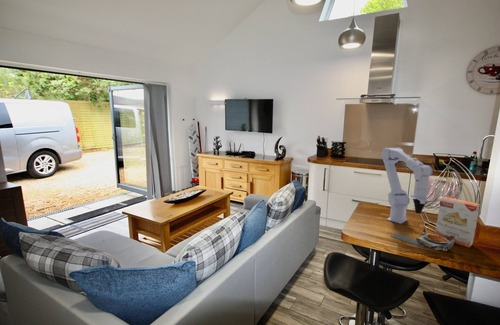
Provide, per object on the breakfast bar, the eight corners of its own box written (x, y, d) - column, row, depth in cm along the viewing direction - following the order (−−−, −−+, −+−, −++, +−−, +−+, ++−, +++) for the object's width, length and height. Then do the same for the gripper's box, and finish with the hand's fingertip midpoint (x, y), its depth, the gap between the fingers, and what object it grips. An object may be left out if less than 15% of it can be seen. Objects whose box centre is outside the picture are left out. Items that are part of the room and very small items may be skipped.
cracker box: (434, 237, 129) (440, 198, 125) (438, 234, 132) (444, 195, 129) (469, 248, 118) (476, 206, 114) (472, 244, 121) (480, 203, 117)
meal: (424, 226, 131) (456, 235, 121) (422, 234, 132) (454, 244, 122) (416, 235, 121) (450, 246, 111) (414, 243, 121) (448, 255, 112)
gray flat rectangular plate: (394, 233, 133) (394, 232, 133) (427, 243, 122) (427, 243, 122) (390, 236, 129) (390, 235, 129) (423, 247, 118) (423, 246, 118)
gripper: (409, 184, 139) (406, 207, 141) (414, 190, 126) (411, 216, 128) (424, 185, 137) (421, 209, 139) (431, 192, 123) (428, 218, 126)
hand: (418, 213), depth 133 cm, fingers closed
